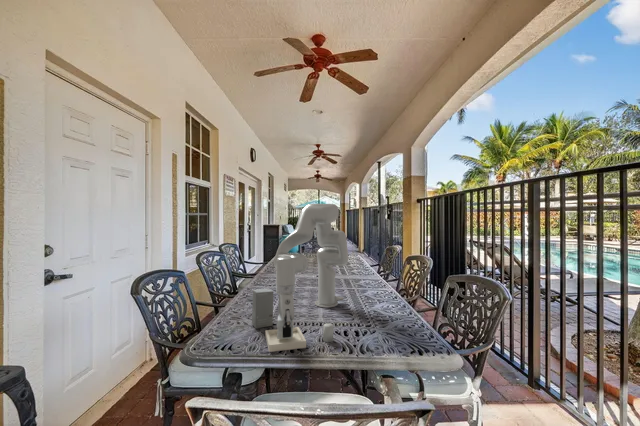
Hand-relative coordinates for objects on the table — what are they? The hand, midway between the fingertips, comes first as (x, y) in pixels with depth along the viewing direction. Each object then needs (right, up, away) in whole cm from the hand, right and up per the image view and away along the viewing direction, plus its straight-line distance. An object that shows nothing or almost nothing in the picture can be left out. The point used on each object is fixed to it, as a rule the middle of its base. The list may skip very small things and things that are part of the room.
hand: (285, 332), depth 117 cm
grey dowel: (+17, -4, +2) cm, 18 cm away
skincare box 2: (0, -1, 0) cm, 1 cm away
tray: (0, -4, 0) cm, 4 cm away
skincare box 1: (-12, -4, +17) cm, 21 cm away
